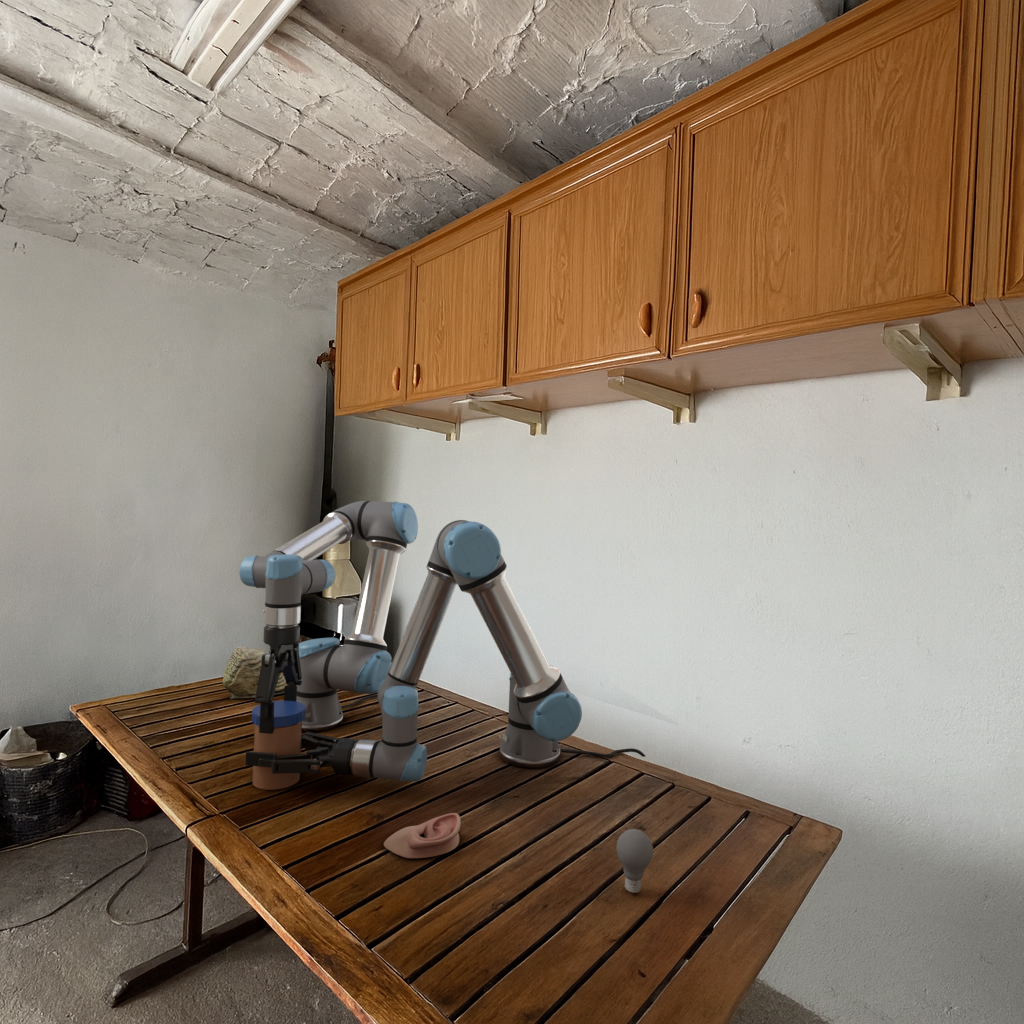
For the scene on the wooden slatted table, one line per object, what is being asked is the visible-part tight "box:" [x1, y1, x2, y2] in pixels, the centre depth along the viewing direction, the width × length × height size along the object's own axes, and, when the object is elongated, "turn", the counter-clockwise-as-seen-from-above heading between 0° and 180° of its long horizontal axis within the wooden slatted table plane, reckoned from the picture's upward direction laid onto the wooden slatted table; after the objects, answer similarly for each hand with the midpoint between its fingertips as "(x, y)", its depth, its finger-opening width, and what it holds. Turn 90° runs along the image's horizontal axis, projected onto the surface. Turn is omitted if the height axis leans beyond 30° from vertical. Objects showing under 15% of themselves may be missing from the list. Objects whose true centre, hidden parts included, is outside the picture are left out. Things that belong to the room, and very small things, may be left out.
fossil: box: [222, 646, 287, 699], centre depth 198 cm, size 9×18×15 cm, turn 132°
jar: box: [251, 721, 303, 791], centre depth 141 cm, size 10×10×15 cm
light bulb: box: [615, 828, 654, 894], centre depth 106 cm, size 6×6×10 cm
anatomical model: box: [383, 812, 462, 859], centre depth 117 cm, size 13×4×12 cm
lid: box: [251, 700, 306, 727], centre depth 141 cm, size 11×11×2 cm
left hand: (278, 723), depth 141 cm, fingers closed on lid, 11 cm apart
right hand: (259, 748), depth 141 cm, fingers closed on jar, 10 cm apart
